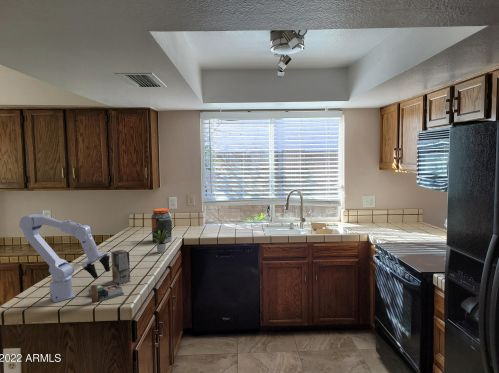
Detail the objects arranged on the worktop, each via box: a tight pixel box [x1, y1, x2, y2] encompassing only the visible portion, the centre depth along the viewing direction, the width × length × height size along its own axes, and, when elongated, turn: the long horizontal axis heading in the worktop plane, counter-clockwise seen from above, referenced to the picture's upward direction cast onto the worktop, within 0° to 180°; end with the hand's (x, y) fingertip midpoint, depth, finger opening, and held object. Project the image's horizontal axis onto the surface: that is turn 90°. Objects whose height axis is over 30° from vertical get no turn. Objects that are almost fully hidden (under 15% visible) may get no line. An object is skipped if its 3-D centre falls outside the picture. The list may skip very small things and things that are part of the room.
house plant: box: [151, 230, 173, 254], centre depth 258 cm, size 14×14×16 cm
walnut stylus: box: [90, 284, 99, 304], centre depth 171 cm, size 3×3×8 cm
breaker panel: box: [88, 283, 125, 302], centre depth 180 cm, size 12×13×3 cm
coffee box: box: [110, 249, 131, 285], centre depth 199 cm, size 9×6×16 cm
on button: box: [97, 284, 104, 291], centre depth 180 cm, size 4×4×2 cm
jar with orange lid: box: [150, 208, 173, 244], centre depth 293 cm, size 16×16×26 cm
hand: (102, 274), depth 175 cm, fingers open, 7 cm apart
